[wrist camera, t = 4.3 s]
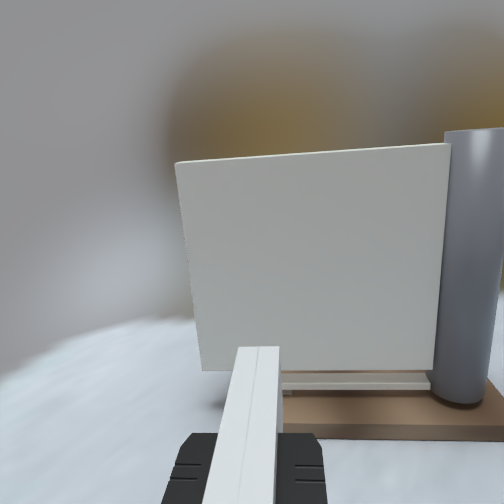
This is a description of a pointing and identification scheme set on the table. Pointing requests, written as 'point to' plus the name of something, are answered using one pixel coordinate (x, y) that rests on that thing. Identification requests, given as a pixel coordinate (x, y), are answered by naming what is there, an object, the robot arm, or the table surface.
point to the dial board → (391, 413)
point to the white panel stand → (352, 262)
